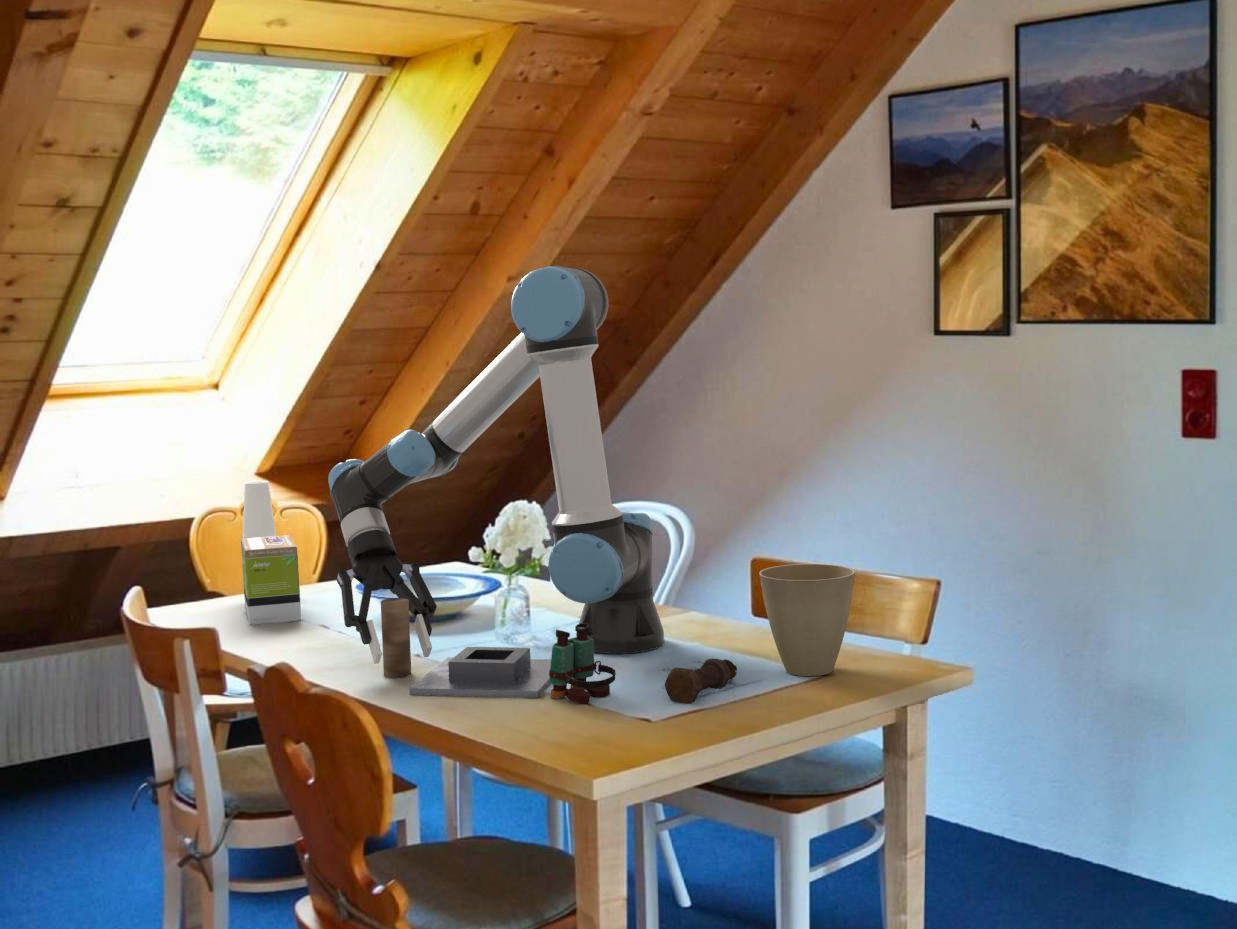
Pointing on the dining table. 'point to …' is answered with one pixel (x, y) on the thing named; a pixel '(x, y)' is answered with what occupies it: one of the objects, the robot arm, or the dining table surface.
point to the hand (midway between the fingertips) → (403, 655)
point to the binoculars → (577, 668)
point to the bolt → (698, 680)
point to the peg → (396, 637)
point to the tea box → (271, 579)
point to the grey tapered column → (258, 510)
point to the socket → (487, 674)
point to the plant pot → (808, 613)
